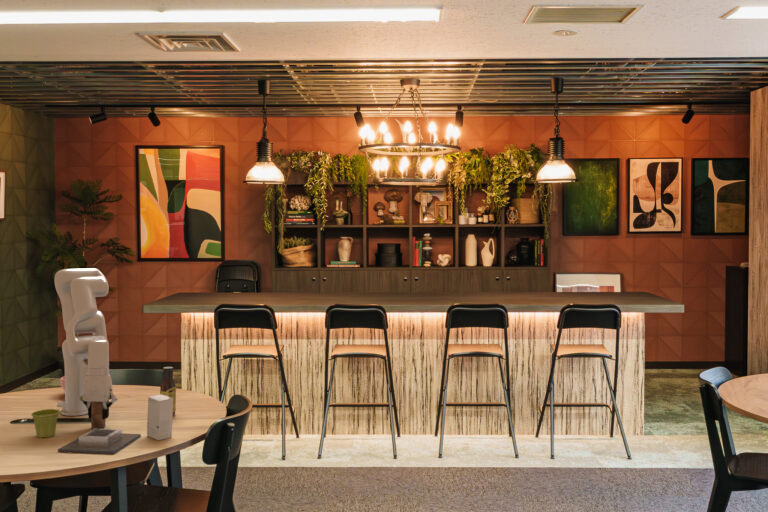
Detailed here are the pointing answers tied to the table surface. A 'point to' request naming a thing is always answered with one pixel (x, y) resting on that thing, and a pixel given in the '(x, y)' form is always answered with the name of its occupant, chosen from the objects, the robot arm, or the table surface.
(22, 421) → the table surface
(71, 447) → the socket
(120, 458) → the table surface
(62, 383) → the cell model
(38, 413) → the plant pot
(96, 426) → the peg
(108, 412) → the robot arm
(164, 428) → the skincare box
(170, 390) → the sauce bottle
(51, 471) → the table surface
